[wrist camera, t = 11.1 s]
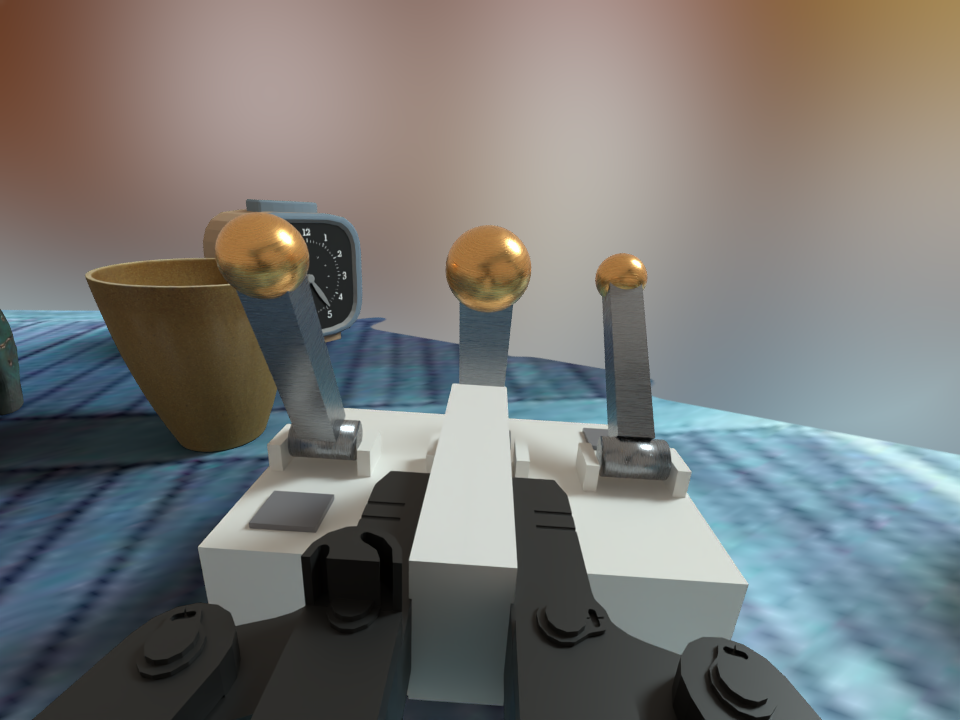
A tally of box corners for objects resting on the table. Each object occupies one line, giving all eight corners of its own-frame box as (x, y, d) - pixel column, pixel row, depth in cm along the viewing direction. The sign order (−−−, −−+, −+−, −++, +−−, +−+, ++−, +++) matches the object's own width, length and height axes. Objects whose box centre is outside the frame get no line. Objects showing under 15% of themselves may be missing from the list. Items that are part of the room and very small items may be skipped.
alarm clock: (253, 363, 62) (234, 199, 55) (217, 349, 67) (195, 196, 60) (365, 334, 78) (361, 205, 71) (329, 324, 83) (322, 202, 76)
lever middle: (507, 438, 26) (537, 212, 17) (507, 486, 24) (541, 257, 14) (451, 434, 27) (446, 207, 17) (445, 482, 24) (436, 251, 14)
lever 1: (366, 429, 27) (312, 200, 17) (352, 476, 24) (281, 242, 14) (310, 425, 27) (223, 195, 17) (291, 472, 24) (177, 236, 15)
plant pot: (113, 429, 43) (72, 261, 38) (270, 391, 53) (255, 255, 48) (149, 501, 33) (101, 289, 28) (332, 438, 44) (322, 274, 38)
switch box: (624, 520, 34) (646, 406, 31) (706, 717, 21) (758, 553, 18) (321, 500, 34) (312, 385, 31) (212, 681, 21) (179, 514, 18)
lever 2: (653, 483, 26) (637, 272, 31) (677, 476, 23) (654, 244, 28) (594, 479, 26) (588, 269, 31) (610, 472, 23) (600, 241, 28)
